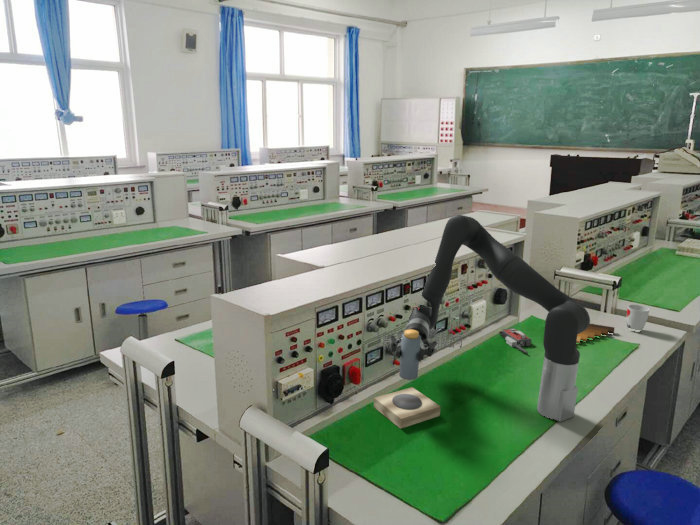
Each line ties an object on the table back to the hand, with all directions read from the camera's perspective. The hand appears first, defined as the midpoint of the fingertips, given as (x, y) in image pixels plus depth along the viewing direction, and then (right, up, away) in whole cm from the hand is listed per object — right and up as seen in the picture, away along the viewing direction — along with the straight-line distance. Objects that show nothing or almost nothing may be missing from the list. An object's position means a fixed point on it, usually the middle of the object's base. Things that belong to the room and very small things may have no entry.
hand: (409, 356), depth 149 cm
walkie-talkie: (+48, -6, +59) cm, 76 cm away
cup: (+103, -3, +77) cm, 128 cm away
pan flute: (+76, -5, +68) cm, 102 cm away
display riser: (0, -17, +7) cm, 18 cm away
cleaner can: (0, -6, +4) cm, 7 cm away
